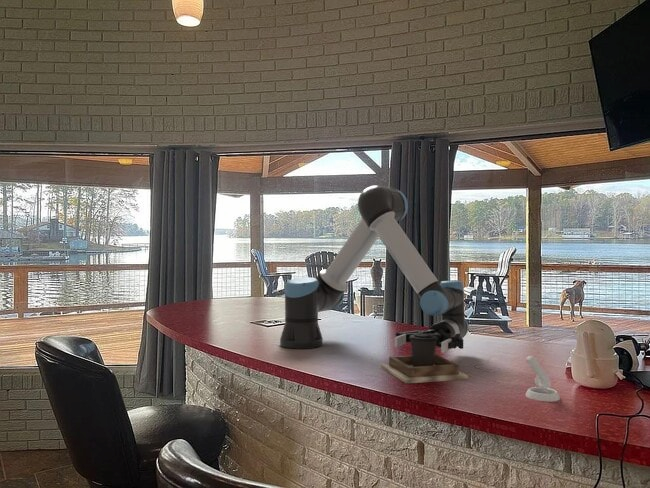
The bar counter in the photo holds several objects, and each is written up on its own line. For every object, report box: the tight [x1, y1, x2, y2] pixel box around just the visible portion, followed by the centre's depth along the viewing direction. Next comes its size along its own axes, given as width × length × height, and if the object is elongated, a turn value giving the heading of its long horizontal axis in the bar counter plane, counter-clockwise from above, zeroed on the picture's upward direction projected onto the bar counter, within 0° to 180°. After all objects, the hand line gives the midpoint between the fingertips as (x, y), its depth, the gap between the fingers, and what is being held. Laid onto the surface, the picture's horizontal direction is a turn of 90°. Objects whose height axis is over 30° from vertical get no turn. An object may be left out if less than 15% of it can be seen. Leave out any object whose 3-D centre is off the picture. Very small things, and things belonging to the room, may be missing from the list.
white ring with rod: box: [525, 355, 561, 403], centre depth 130 cm, size 8×12×7 cm
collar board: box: [380, 354, 469, 384], centre depth 153 cm, size 18×18×4 cm
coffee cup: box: [409, 333, 438, 367], centre depth 153 cm, size 8×8×10 cm
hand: (418, 344), depth 150 cm, fingers open, 13 cm apart
